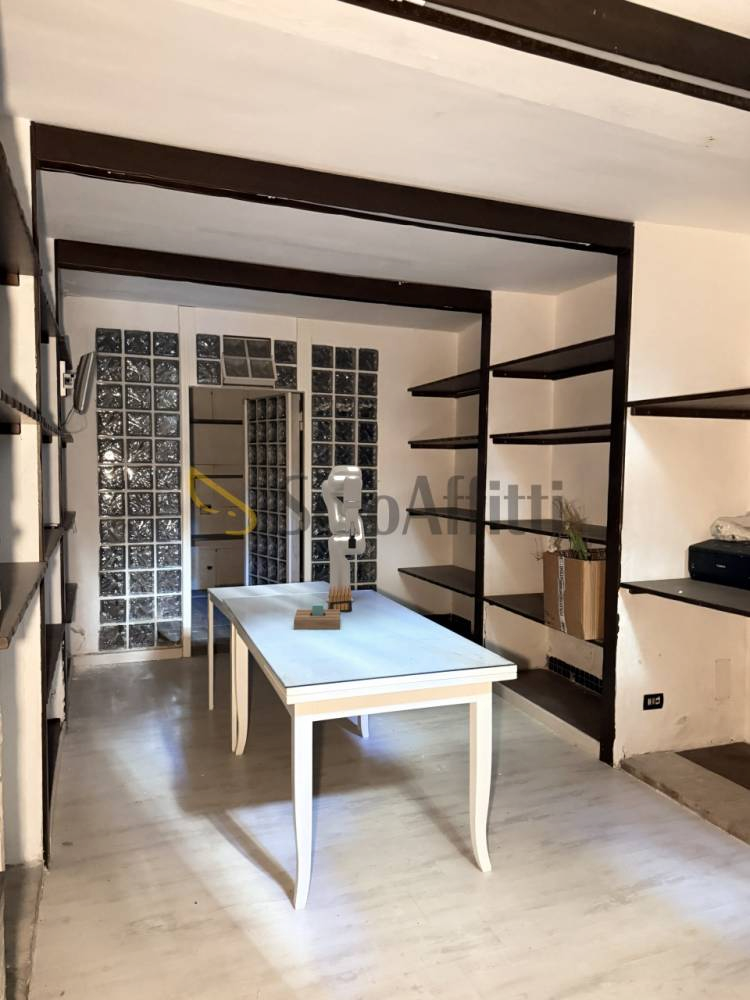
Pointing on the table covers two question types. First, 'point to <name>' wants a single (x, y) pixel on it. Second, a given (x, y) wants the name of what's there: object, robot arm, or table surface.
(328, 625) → the socket block
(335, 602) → the ammunition clip
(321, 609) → the peg
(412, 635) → the table surface
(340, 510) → the robot arm
